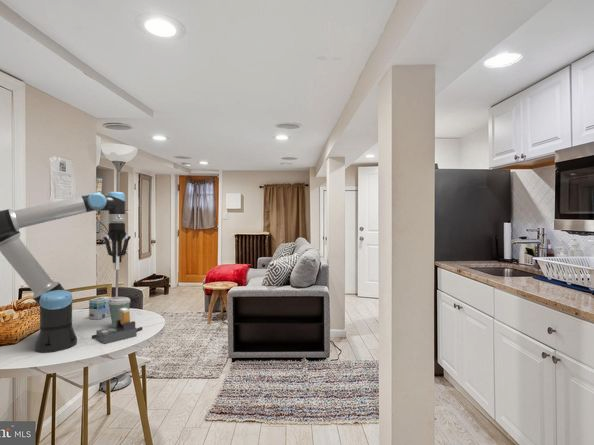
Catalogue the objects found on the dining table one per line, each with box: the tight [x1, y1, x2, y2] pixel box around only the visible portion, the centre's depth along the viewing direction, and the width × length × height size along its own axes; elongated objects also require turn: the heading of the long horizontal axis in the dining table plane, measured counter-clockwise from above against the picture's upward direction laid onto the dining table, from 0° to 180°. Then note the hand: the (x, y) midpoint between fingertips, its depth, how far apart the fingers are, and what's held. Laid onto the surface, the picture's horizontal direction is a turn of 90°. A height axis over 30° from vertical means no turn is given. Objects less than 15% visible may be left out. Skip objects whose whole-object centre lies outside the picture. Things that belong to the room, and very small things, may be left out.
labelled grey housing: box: [95, 320, 138, 345], centre depth 166 cm, size 14×10×7 cm
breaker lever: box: [119, 308, 131, 326], centre depth 169 cm, size 2×6×8 cm, turn 48°
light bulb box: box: [88, 296, 113, 321], centre depth 203 cm, size 11×7×11 cm, turn 164°
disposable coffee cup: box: [108, 296, 131, 327], centre depth 184 cm, size 11×11×15 cm
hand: (116, 269), depth 181 cm, fingers closed
